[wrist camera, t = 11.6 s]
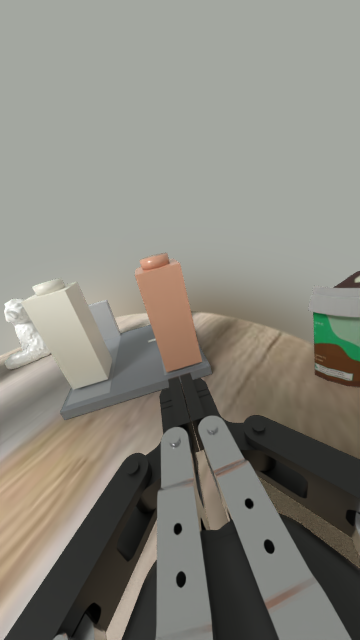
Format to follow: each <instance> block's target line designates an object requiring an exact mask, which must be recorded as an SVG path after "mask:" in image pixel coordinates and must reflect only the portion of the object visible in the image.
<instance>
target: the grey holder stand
mask: <svg viewBox="0 0 360 640" xmlns="http://www.w3.org/2000/svg"><path fill="white" fill-rule="evenodd" d="M88 307H89V309H90V311H91V313H92V315H93V318H94V320H95V322H96V324H97V326H98V329H99V331H100V333H101V335H102V338H103V340H104V342H105V344H106V346H107V349H108V351H109V353H110V355H111V357H112V364H111V368H110V373H109V377H108V379H107V380H104V381H100V382H97V383H94V384H90V385H87V386H84V387H81V388H77V389H74V390H73V389H72V387H71V389H70V392H69V394H68V396H67V398H66V400H65V403H64V405H63V407H62V409H61V411H60V414H61V415H62V417H63V418H64V420H66V419H70V418H73V417H76V416H79V415H82V414H86V413H89V412H92V411H95V410H98V409H101V408H105V407H108V406H111V405H114V404H117V403H121V402H124V401H127V400H130V399H133V398H136V397H140V396H143V395H146V394H149V393H152V392H156V391H159V390H162V389H165V388H168V387H169V383H168V379H170V378H173V377H176V376H179V379H180V375H183V374H186V373H189V372H190V374H191V376H192V379H193V380H194V379H197V378H200V377H203V376H206V375H210V374H212V371H211V366H210V364H209V362H208V360H207V359H206V357H205V355H204V353H203V351H202V349H201V347H200V346H199V350H200V354H201V359H202V362H199V363H196V364H193V365H189V366H186V367H183V368H180V369H177V370H173V371H170V372H166V369H165V366H164V363H163V360H162V357H161V354H160V351H159V348H158V345H157V341H156V338H155V335H154V332H153V329H152V326H151V325H148V326H145V327H141V328H138V329H134V330H131V331H127V332H124V333H120V331H119V328H118V326H117V323H116V321H115V318H114V316H113V313H112V311H111V309H110V306H109V303H108V301H107V300H104V301H101V302H97V303H93V304H90V305H88ZM198 345H199V344H198ZM180 382H181V379H180Z"/></svg>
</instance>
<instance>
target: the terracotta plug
mask: <svg viewBox="0 0 360 640" xmlns="http://www.w3.org/2000/svg"><path fill="white" fill-rule="evenodd" d="M140 264H141V267H140V268H137V269H136V272H135V277H136V280H137V283H138V286H139V289H140V292H141V295H142V298H143V301H144V304H145V308H146V311H147V314H148V317H149V320H150V323H151V326H152V329H153V332H154V335H155V338H156V341H157V345H158V348H159V351H160V354H161V357H162V360H163V363H164V366H165V369H166V372H170V371H173V370H177V369H180V368H183V367H186V366H189V365H193V364H196V363H199V362H202V359H201V354H200V350H199V345H198V341H197V337H196V332H195V328H194V323H193V319H192V314H191V310H190V306H189V301H188V297H187V292H186V288H185V284H184V279H183V275H182V270H181V266H180V263H179V262H177V261H176V260H174V259H170V260H169V259H168V254H167V253H161V254H157V255H152V256H149V257H146V258H143V259H141V260H140Z"/></svg>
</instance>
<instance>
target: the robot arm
mask: <svg viewBox="0 0 360 640" xmlns="http://www.w3.org/2000/svg"><path fill="white" fill-rule="evenodd" d="M180 379H181V382H180ZM180 379H179V376H176V377H173V378H170V379H168V383H169V388H165V389H162V391H161V394H160V404H161V415H162V424H163V437H162V439H161V442H160V444H159V445H158V446H157V447H156V448H155V449H154V450H153V451H151V452H150V453H148V454H147V455H146V456H145V455H144V454H142V453H135V454H132V455H130V456H129V457H127V458H126V459H125V460H124V462H123V463H122V465H121V466H120V467H119V469H118V470H117V472H116V473H115V475H114V476H113V478H112V479H111V481H110V482H109V484H108V485H107V487H106V488H105V490H104V491H103V493H102V494H101V496H100V497H99V499H98V500H97V502H96V503H95V505H94V506H93V508H92V509H91V511H90V512H89V514H88V515H87V517H86V518H85V520H84V521H83V523H82V524H81V526H80V527H79V529H78V530H77V532H76V533H75V534H74V536H73V537H72V539H71V540H70V542H69V543H68V545H67V546H66V548H65V549H64V551H63V552H62V554H61V555H60V557H59V558H58V560H57V561H56V563H55V564H54V566H53V567H52V569H51V570H50V572H49V573H48V575H47V576H46V578H45V579H44V581H43V582H42V584H41V585H40V587H39V588H38V590H37V591H36V593H35V594H34V596H33V597H32V598H31V600H30V601H29V603H28V604H27V606H26V607H25V609H24V610H23V612H22V613H21V615H20V616H19V618H18V619H17V621H16V622H15V624H14V625H13V627H12V628H11V630H10V631H9V633H8V634H7V636H6V637H5V639H4V640H107V636H106V631H107V628H108V626H109V624H110V622H111V620H112V617H113V615H114V613H115V611H116V608H117V606H118V604H119V602H120V600H121V597H122V595H123V593H124V591H125V588H126V586H127V584H128V582H129V580H130V577H131V575H132V573H133V571H134V568H135V566H136V564H137V562H138V560H139V557H140V555H141V553H142V551H143V548H144V546H145V544H146V542H147V540H148V537H149V535H150V533H151V531H152V528H153V526H154V524H155V522H156V520H157V560H156V561H155V562H154V564H153V566H152V567H151V569H150V570H149V572H148V574H147V576H146V578H145V580H144V583H143V585H142V588H141V590H140V593H139V596H138V598H137V601H136V603H135V606H134V609H133V611H132V614H131V617H130V619H129V622H128V624H127V627H126V630H125V632H124V635H123V637H122V640H360V569H359V568H358V567H357V566H355V565H354V564H353V563H351V562H350V561H349V560H348V559H346V558H345V557H344V556H342V555H341V554H340V553H338V552H337V551H336V550H334V549H333V548H332V547H330V546H329V545H328V544H326V543H325V542H324V541H323V540H321V539H320V538H319V537H317V536H316V535H315V534H313V533H312V532H311V531H309V530H308V529H307V528H305V527H304V526H303V525H301V524H300V523H298V522H297V521H295V520H293V519H292V518H289V517H287V516H285V515H282V514H279V513H277V511H276V509H275V507H274V505H273V504H272V502H271V500H270V498H269V496H268V495H267V493H266V491H265V489H264V487H263V486H262V484H261V482H260V480H259V478H258V477H257V475H258V476H259V477H261V478H262V479H264V480H265V481H267V482H268V483H270V484H271V485H273V486H274V487H276V488H277V489H279V490H280V491H282V492H283V493H285V494H286V495H288V496H289V497H291V498H293V499H294V500H296V501H297V502H299V503H300V504H302V505H303V506H305V507H306V508H308V509H309V510H311V511H312V512H314V513H315V514H317V515H318V516H320V517H321V518H323V519H324V520H326V521H327V522H329V523H330V524H332V525H333V526H335V527H337V528H338V529H340V530H341V531H343V532H344V533H346V534H347V535H349V536H350V537H352V541H353V544H354V547H355V549H356V551H357V553H358V555H359V556H360V459H357V458H355V457H353V456H351V455H348V454H346V453H344V452H342V451H339V450H337V449H335V448H333V447H331V446H328V445H326V444H324V443H322V442H319V441H317V440H315V439H313V438H310V437H308V436H306V435H304V434H302V433H299V432H297V431H295V430H293V429H290V428H288V427H286V426H284V425H281V424H279V423H277V422H275V421H273V420H270V419H268V418H266V417H263V416H260V415H253V416H250V417H248V418H247V419H246V420H245V421H244V423H232V422H228V421H226V420H224V419H223V418H222V417H221V416H220V414H219V412H218V410H217V407H216V405H215V403H214V401H213V398H212V396H211V394H210V391H209V389H208V387H207V384H206V382H205V381H204V380H202V379H201V378H198V379H194V380H193V379H192V376H191V374H190V372H189V373H186V374H183V375H180ZM181 383H182V385H181ZM182 387H183V389H182ZM183 391H184V392H183ZM184 394H185V395H184ZM185 398H186V399H185ZM186 402H187V403H186ZM189 413H190V414H189ZM190 417H191V418H190ZM191 421H192V422H191ZM192 424H193V425H192ZM193 428H194V429H193ZM194 431H195V433H194ZM195 434H196V437H195ZM196 438H197V441H198V444H199V447H200V451H201V450H204V452H205V455H206V459H207V462H208V466H209V468H210V471H211V474H212V477H213V479H214V482H215V485H216V488H217V490H218V493H219V496H220V499H221V501H222V504H223V507H224V510H225V513H226V516H227V519H228V523H227V524H225V525H224V526H223V527H222V528H220V529H219V530H210V527H209V522H208V518H207V514H206V509H205V503H204V497H203V491H202V485H201V479H200V473H199V468H198V460H197V456H196V452H198V451H199V448H198V444H197V441H196Z"/></svg>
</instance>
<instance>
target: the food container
mask: <svg viewBox="0 0 360 640" xmlns="http://www.w3.org/2000/svg"><path fill="white" fill-rule="evenodd" d="M308 311H312V312H313V317H314V355H315V375H317V376H319V377H321V378H323V379H326V380H328V381H331V382H335V383H338V384H342V385H345V386H352V387H360V271H358V272H356V273H354V274H353V275H351V276H350V277H348V278H347V279H346V280H344V281H343V282H341V283H340V284H338V285H337V286H335V287H333V288H329V287H319V286H313V294H311V297H310V302H309V308H308Z"/></svg>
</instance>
